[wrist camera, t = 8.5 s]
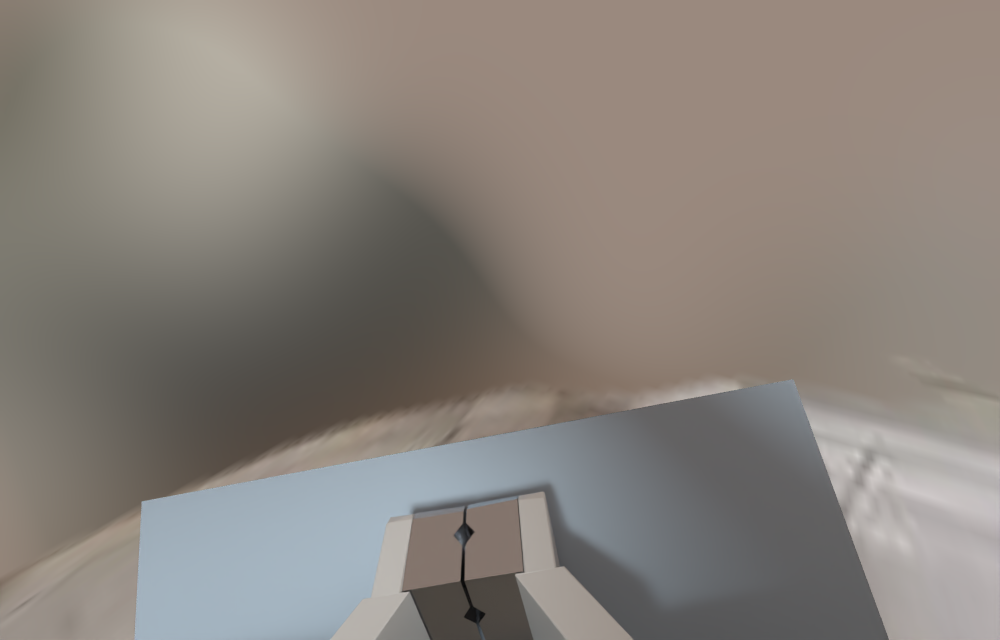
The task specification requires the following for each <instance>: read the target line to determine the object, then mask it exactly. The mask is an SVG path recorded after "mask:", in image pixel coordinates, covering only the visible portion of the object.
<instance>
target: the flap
mask: <svg viewBox="0 0 1000 640" xmlns="http://www.w3.org/2000/svg"><path fill="white" fill-rule="evenodd" d="M537 492H545V496H546V500H547V505H548V510H549V515H550V519H551V524H552V529H553V534H554V539H555V544H556V549H557V554H558V559H559V564H560V567H563V566H565V567H566V569H567V570H568V571H569V572H570V573H571V574H572V575H573V576H574V577H575V578H576V579H577V580H578V581H579V582H580V583H581V584H582V585H583V587H584V588H585V589H586V590H587V591H588V592H589V593H590V594H591V595H592V596H593V597H594V598H595V599H596V600H597V601H598V602H599V604H600V605H601V606H602V607H603V608H604V609H605V610H606V611H607V612H608V613H609V614H610V615H611V616H612V617H613V618H614V619H615V620H616V622H617V623H618V624H619V625H620V626H621V627H622V628H623V629H624V630H625V631H626V632H627V633H628V634H629V635H630V636H631V637H632V639H633V640H889V639H888V636H887V633H886V630H885V628H884V625H883V622H882V619H881V617H880V614H879V611H878V609H877V606H876V603H875V600H874V598H873V595H872V592H871V590H870V587H869V584H868V581H867V579H866V576H865V573H864V571H863V568H862V565H861V562H860V560H859V557H858V554H857V552H856V549H855V546H854V543H853V541H852V538H851V535H850V532H849V530H848V527H847V524H846V522H845V519H844V516H843V513H842V511H841V508H840V505H839V503H838V500H837V497H836V494H835V492H834V489H833V486H832V484H831V481H830V478H829V475H828V473H827V470H826V467H825V464H824V462H823V459H822V456H821V454H820V451H819V448H818V445H817V443H816V440H815V437H814V435H813V432H812V429H811V426H810V424H809V421H808V418H807V416H806V413H805V410H804V407H803V405H802V402H801V399H800V397H799V394H798V391H797V388H796V386H795V383H794V380H793V379H792V380H787V381H782V382H776V383H771V384H766V385H760V386H755V387H750V388H744V389H739V390H734V391H728V392H723V393H718V394H712V395H707V396H702V397H696V398H691V399H686V400H680V401H675V402H670V403H664V404H659V405H654V406H648V407H643V408H638V409H632V410H627V411H622V412H616V413H611V414H606V415H600V416H595V417H590V418H584V419H579V420H574V421H568V422H563V423H558V424H553V425H547V426H542V427H537V428H531V429H526V430H521V431H515V432H510V433H505V434H499V435H494V436H489V437H483V438H478V439H473V440H467V441H462V442H457V443H451V444H446V445H441V446H435V447H430V448H425V449H419V450H414V451H409V452H403V453H398V454H393V455H387V456H382V457H377V458H371V459H366V460H361V461H355V462H350V463H345V464H339V465H334V466H329V467H323V468H318V469H313V470H308V471H302V472H297V473H292V474H286V475H281V476H276V477H270V478H265V479H260V480H254V481H249V482H244V483H238V484H233V485H228V486H222V487H217V488H212V489H206V490H201V491H196V492H190V493H185V494H180V495H174V496H169V497H164V498H158V499H153V500H148V501H142V510H141V529H140V547H139V566H138V585H137V604H136V623H135V640H330V639H331V638H332V637H333V635H334V634H335V633H336V632H337V630H338V629H339V628H340V627H341V625H342V624H343V623H344V622H345V621H346V619H347V618H348V617H349V616H350V614H351V613H352V612H353V611H354V609H355V608H356V607H357V606H358V604H359V603H360V602H361V601H362V599H366V598H371V593H372V589H373V584H374V579H375V575H376V570H377V565H378V561H379V556H380V551H381V546H382V542H383V537H384V532H385V528H386V524H387V523H388V521H389V519H390V517H397V516H403V515H410V514H416V513H421V512H428V511H435V510H442V509H448V508H455V507H462V506H466V507H468V506H469V505H471V504H476V503H482V502H487V501H492V500H498V499H503V498H509V497H514V496H518V497H519V496H521V495H526V494H532V493H537ZM484 640H485V637H484Z"/></svg>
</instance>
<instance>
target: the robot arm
mask: <svg viewBox="0 0 1000 640" xmlns="http://www.w3.org/2000/svg"><path fill="white" fill-rule="evenodd" d="M484 637H485V640H633V639H632V637H631V636H630V635H629V634H628V633H627V632H626V631H625V630H624V629H623V628H622V627H621V626H620V625H619V624H618V623H617V622H616V620H615V619H614V618H613V617H612V616H611V615H610V614H609V613H608V612H607V611H606V610H605V609H604V608H603V607H602V606H601V605H600V604H599V602H598V601H597V600H596V599H595V598H594V597H593V596H592V595H591V594H590V593H589V592H588V591H587V590H586V589H585V588H584V587H583V585H582V584H581V583H580V582H579V581H578V580H577V579H576V578H575V577H574V576H573V575H572V574H571V573H570V572H569V571H568V570H567V569H566V567H565V566H563V567H560V564H559V559H558V554H557V549H556V544H555V539H554V534H553V529H552V524H551V519H550V515H549V510H548V505H547V500H546V496H545V492H537V493H532V494H526V495H521V496H519V497H518V496H514V497H509V498H503V499H498V500H492V501H487V502H482V503H476V504H471V505H469V506H468V507H466V506H462V507H455V508H448V509H442V510H435V511H428V512H421V513H416V514H410V515H403V516H397V517H390V519H389V521H388V523H387V524H386V528H385V532H384V537H383V542H382V546H381V551H380V556H379V561H378V565H377V570H376V575H375V579H374V584H373V589H372V593H371V598H366V599H362V601H361V602H360V603H359V604H358V606H357V607H356V608H355V609H354V611H353V612H352V613H351V614H350V616H349V617H348V618H347V619H346V621H345V622H344V623H343V624H342V625H341V627H340V628H339V629H338V630H337V632H336V633H335V634H334V635H333V637H332V638H331V639H330V640H484Z"/></svg>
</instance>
